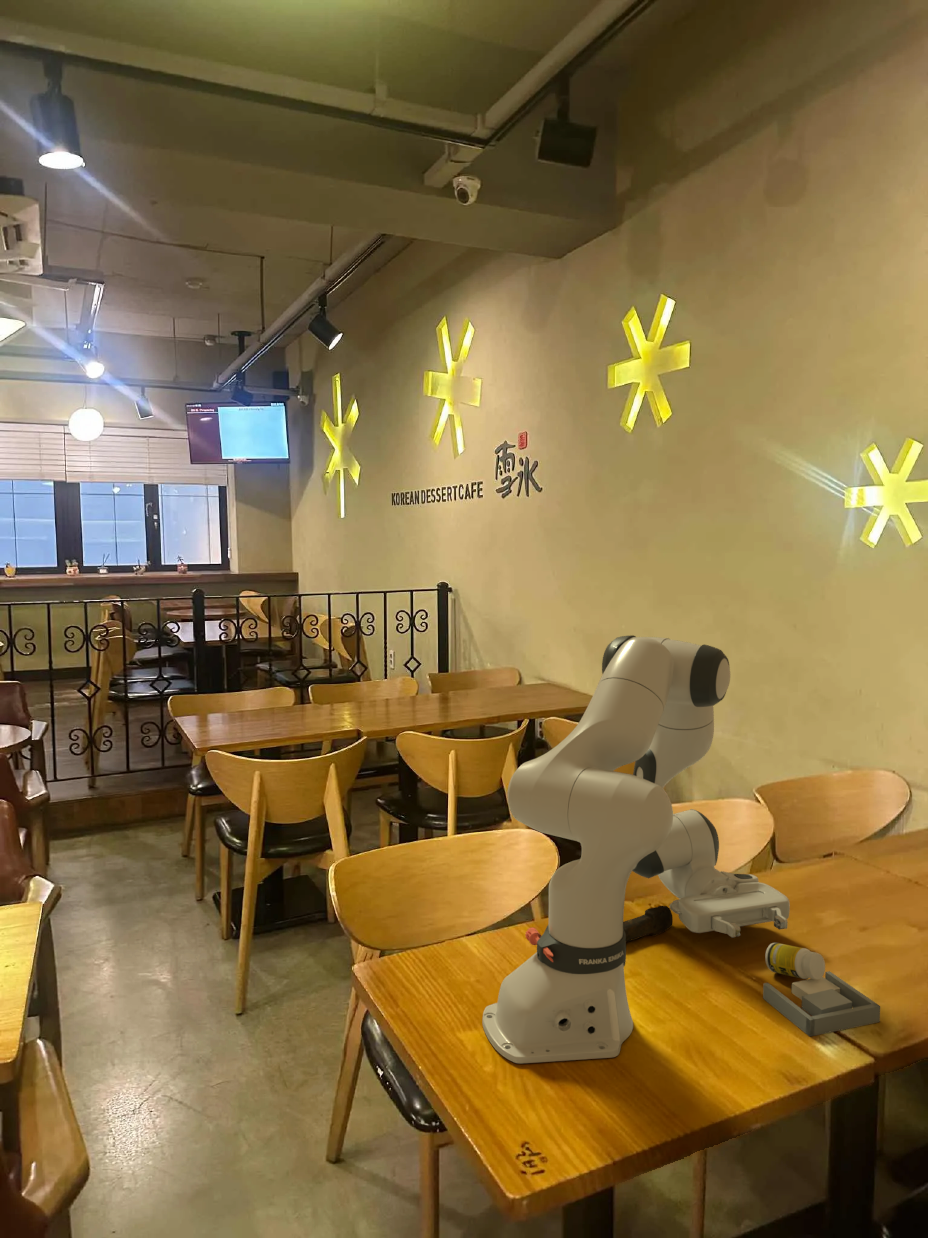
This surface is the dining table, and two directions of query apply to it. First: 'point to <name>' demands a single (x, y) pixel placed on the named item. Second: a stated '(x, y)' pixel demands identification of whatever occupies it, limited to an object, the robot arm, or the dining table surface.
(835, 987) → the tile far
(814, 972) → the supplement bottle
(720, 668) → the robot arm
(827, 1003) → the tile near
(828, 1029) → the grey u-shaped frame
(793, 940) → the dining table surface
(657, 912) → the hand tool
